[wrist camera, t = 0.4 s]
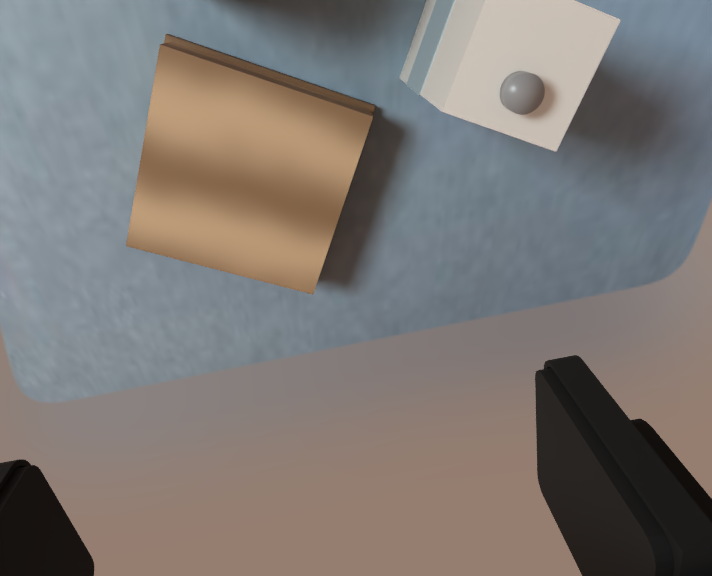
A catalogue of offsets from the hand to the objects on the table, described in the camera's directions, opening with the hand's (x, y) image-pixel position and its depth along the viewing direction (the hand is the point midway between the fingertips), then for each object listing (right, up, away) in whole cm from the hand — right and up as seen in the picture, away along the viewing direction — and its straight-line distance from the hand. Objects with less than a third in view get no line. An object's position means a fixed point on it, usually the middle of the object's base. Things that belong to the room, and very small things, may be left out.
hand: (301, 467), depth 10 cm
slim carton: (+7, +18, +23) cm, 30 cm away
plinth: (-6, +11, +25) cm, 28 cm away
